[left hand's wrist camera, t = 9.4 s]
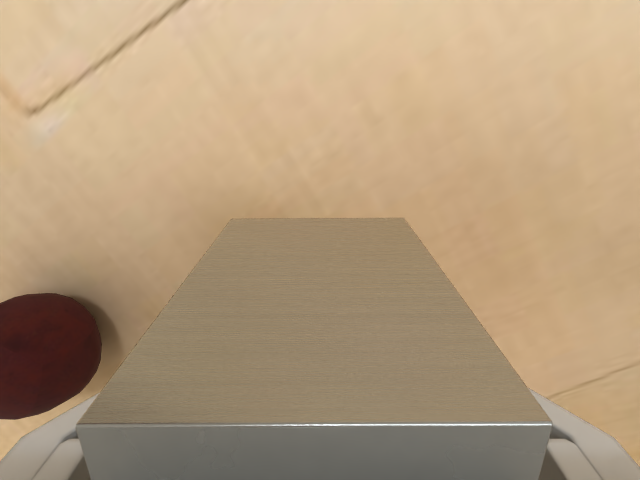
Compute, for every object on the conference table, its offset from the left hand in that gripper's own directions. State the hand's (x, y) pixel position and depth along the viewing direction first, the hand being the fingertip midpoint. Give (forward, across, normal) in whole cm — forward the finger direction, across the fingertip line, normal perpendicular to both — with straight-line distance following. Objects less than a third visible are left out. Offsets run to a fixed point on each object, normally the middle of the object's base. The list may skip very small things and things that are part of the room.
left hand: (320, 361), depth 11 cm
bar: (+4, 0, -10) cm, 10 cm away
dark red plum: (+14, -18, -8) cm, 24 cm away
